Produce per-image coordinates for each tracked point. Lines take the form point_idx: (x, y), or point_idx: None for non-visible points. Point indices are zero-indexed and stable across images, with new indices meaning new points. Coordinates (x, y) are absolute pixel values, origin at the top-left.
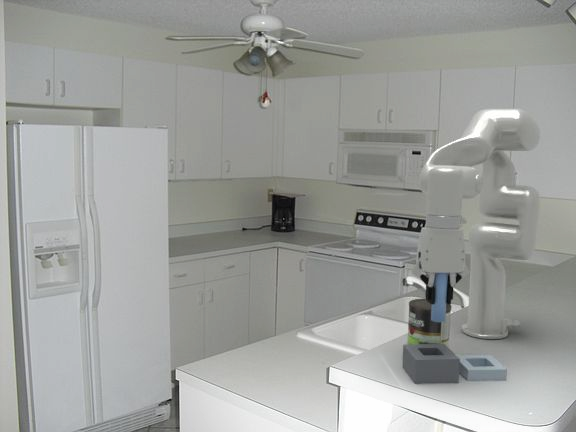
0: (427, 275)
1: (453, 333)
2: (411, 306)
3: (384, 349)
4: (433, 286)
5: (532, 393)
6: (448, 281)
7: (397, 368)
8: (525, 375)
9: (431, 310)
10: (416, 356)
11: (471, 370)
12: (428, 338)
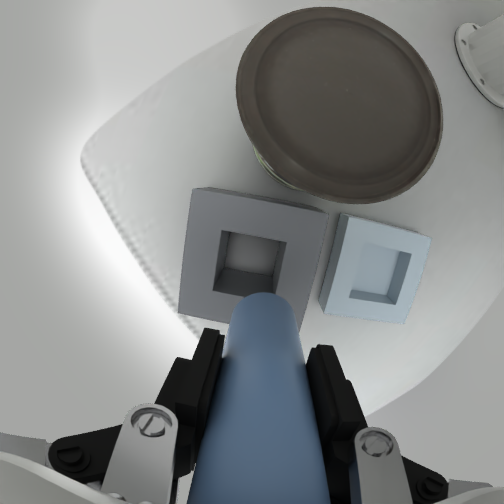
0: (130, 483)
1: (436, 33)
2: (236, 93)
3: (225, 57)
4: (193, 458)
5: (395, 358)
6: (342, 477)
7: (198, 182)
8: (444, 288)
9: (227, 334)
10: (188, 292)
11: (331, 313)
12: (287, 183)
